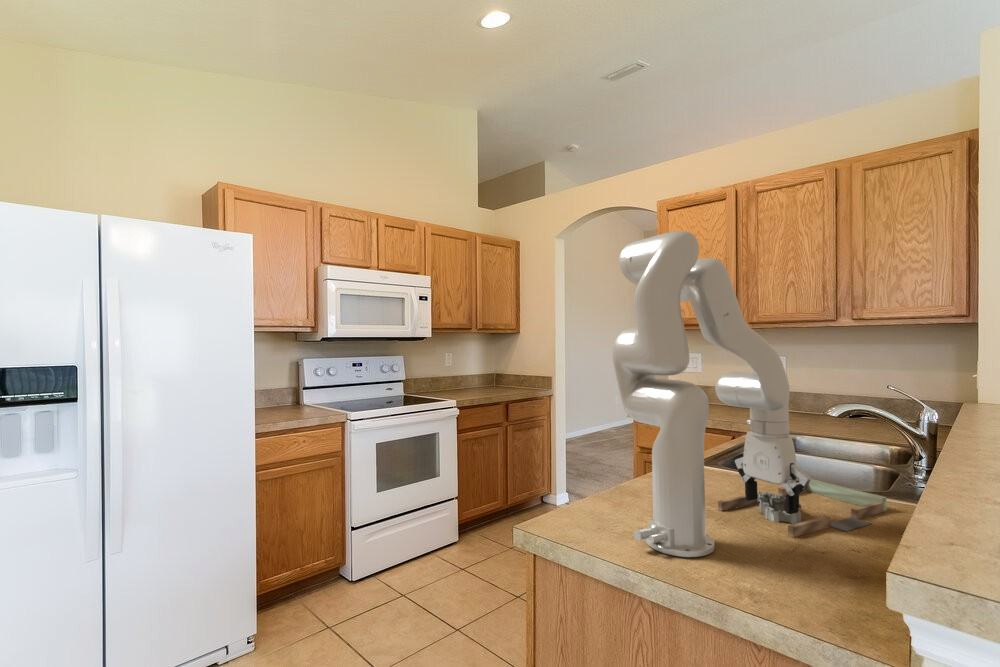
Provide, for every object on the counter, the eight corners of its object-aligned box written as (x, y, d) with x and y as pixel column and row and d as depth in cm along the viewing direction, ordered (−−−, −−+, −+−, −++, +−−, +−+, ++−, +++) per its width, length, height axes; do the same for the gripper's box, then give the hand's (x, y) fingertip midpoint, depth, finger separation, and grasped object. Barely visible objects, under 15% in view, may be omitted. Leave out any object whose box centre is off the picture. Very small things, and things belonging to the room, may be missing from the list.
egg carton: (803, 526, 105) (803, 506, 105) (763, 521, 108) (763, 502, 108) (794, 509, 115) (793, 491, 115) (757, 505, 118) (757, 488, 118)
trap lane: (807, 543, 96) (807, 527, 96) (707, 506, 118) (707, 493, 118) (902, 514, 110) (901, 501, 110) (796, 486, 132) (796, 475, 132)
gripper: (724, 423, 116) (725, 497, 116) (796, 436, 100) (798, 521, 100) (746, 420, 119) (748, 492, 119) (819, 432, 103) (821, 515, 103)
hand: (771, 505), depth 109 cm, fingers open, 9 cm apart
